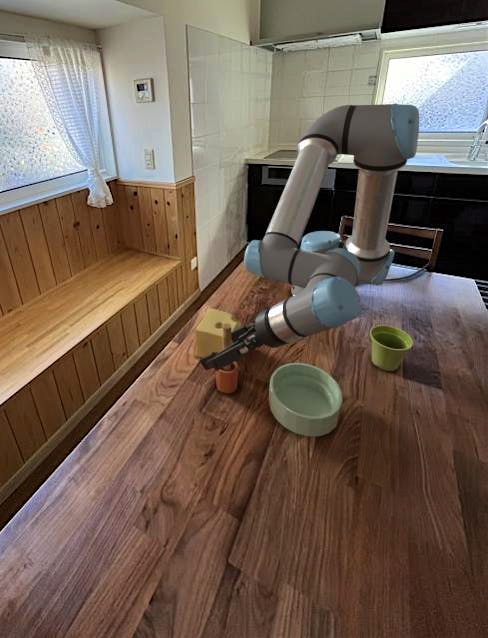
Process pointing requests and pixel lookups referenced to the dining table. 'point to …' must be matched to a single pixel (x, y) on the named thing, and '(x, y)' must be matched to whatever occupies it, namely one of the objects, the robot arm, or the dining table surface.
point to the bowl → (305, 399)
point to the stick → (226, 341)
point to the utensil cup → (227, 379)
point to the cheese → (213, 331)
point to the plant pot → (389, 346)
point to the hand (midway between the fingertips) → (218, 350)
